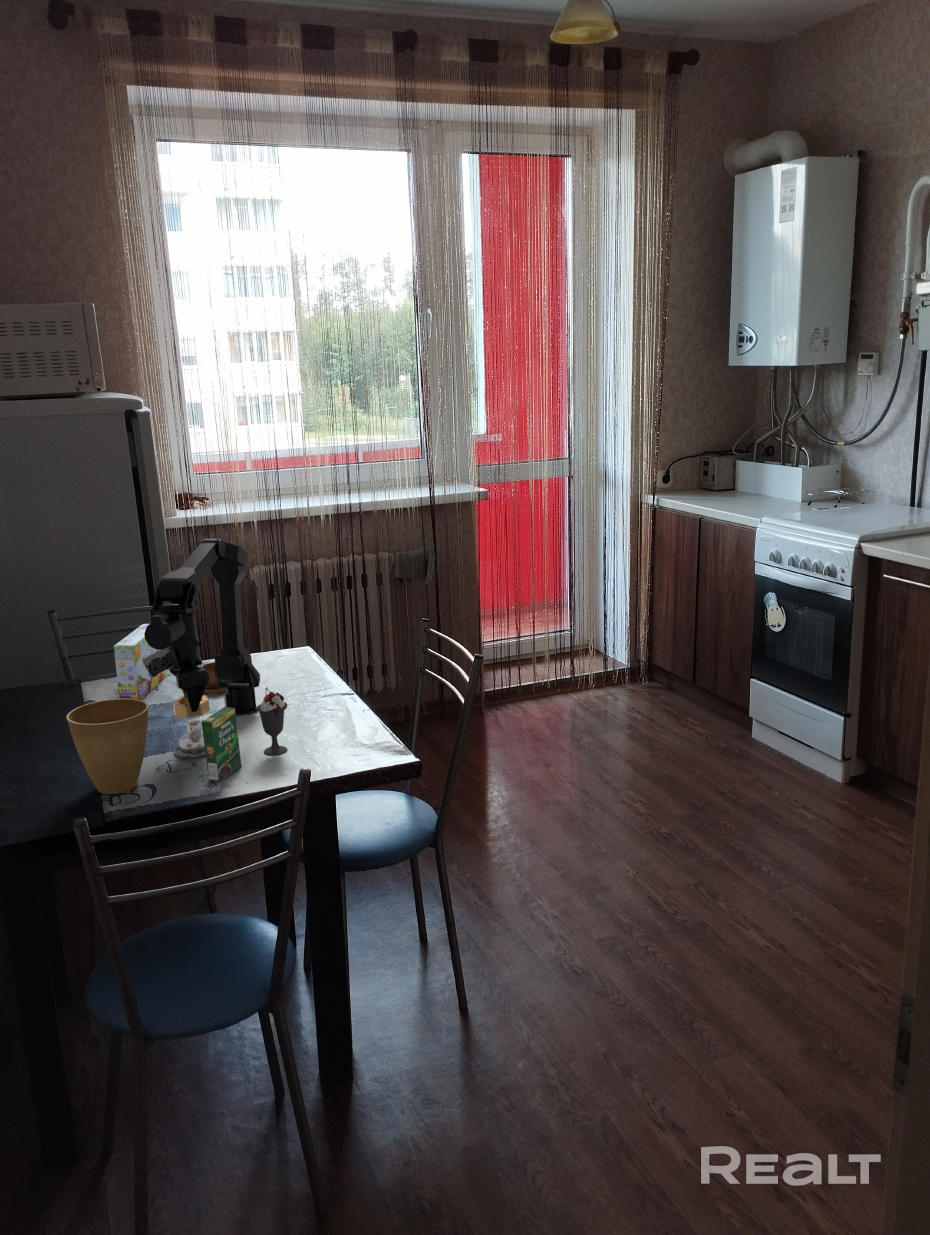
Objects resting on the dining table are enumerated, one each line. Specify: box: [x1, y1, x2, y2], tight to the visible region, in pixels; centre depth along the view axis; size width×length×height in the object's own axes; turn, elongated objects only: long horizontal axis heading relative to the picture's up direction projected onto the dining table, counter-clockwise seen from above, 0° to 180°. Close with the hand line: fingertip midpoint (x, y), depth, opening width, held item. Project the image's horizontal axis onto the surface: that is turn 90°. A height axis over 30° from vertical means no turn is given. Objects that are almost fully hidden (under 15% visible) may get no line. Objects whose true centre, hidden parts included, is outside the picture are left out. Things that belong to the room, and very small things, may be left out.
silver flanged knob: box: [174, 719, 206, 760], centre depth 205 cm, size 9×9×6 cm
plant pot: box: [66, 698, 149, 795], centre depth 188 cm, size 15×15×16 cm
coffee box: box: [201, 706, 243, 783], centre depth 191 cm, size 8×3×13 cm, turn 159°
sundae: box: [255, 687, 288, 756], centre depth 202 cm, size 7×7×15 cm
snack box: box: [113, 623, 168, 701], centre depth 245 cm, size 21×6×15 cm, turn 179°
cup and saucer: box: [202, 661, 226, 694], centre depth 245 cm, size 12×12×6 cm
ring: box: [172, 694, 211, 719], centre depth 204 cm, size 7×7×2 cm
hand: (191, 706), depth 204 cm, fingers closed on ring, 7 cm apart
